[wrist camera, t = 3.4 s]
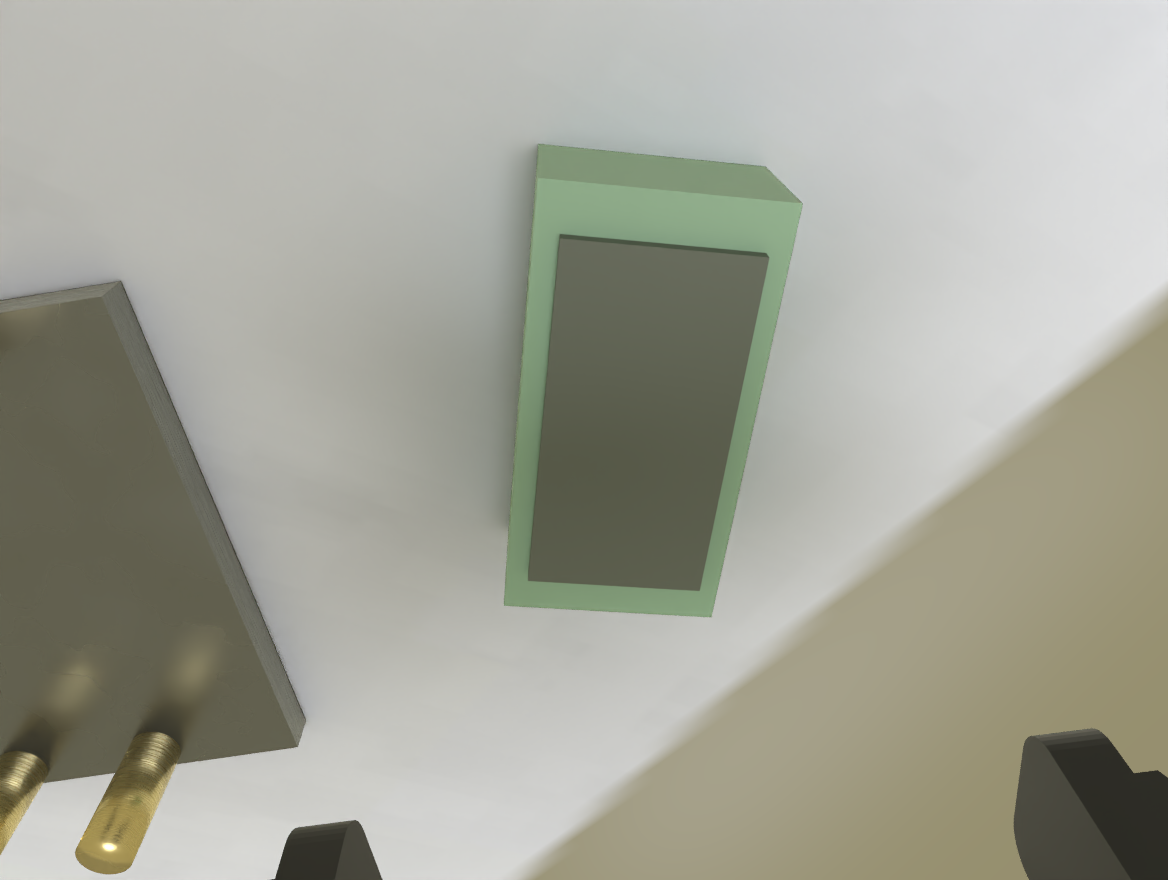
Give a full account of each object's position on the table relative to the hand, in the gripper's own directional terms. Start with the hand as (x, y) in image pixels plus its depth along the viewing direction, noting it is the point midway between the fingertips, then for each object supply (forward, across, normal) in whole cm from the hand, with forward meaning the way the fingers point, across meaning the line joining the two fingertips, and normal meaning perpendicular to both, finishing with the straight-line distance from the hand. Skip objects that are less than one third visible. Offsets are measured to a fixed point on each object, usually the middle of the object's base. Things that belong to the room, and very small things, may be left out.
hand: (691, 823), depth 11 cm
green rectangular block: (+13, 0, 0) cm, 13 cm away
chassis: (+13, +17, +3) cm, 21 cm away
